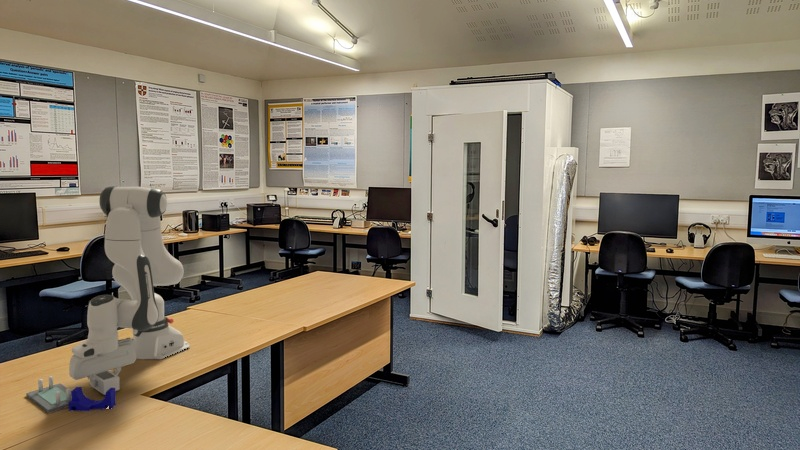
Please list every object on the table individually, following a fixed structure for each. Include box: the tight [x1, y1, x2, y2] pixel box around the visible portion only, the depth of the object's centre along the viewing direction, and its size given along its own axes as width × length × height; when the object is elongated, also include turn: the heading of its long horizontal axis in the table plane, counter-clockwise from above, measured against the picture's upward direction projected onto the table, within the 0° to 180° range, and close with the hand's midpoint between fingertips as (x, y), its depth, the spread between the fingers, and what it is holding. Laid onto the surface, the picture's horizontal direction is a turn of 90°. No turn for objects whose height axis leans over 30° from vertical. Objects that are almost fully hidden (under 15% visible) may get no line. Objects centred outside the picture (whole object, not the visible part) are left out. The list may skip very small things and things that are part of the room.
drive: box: [89, 370, 120, 396], centre depth 178 cm, size 5×10×5 cm, turn 53°
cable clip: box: [68, 386, 117, 412], centre depth 166 cm, size 12×4×6 cm, turn 93°
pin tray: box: [25, 375, 72, 414], centre depth 170 cm, size 10×17×5 cm, turn 54°
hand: (104, 382), depth 178 cm, fingers closed on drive, 5 cm apart
